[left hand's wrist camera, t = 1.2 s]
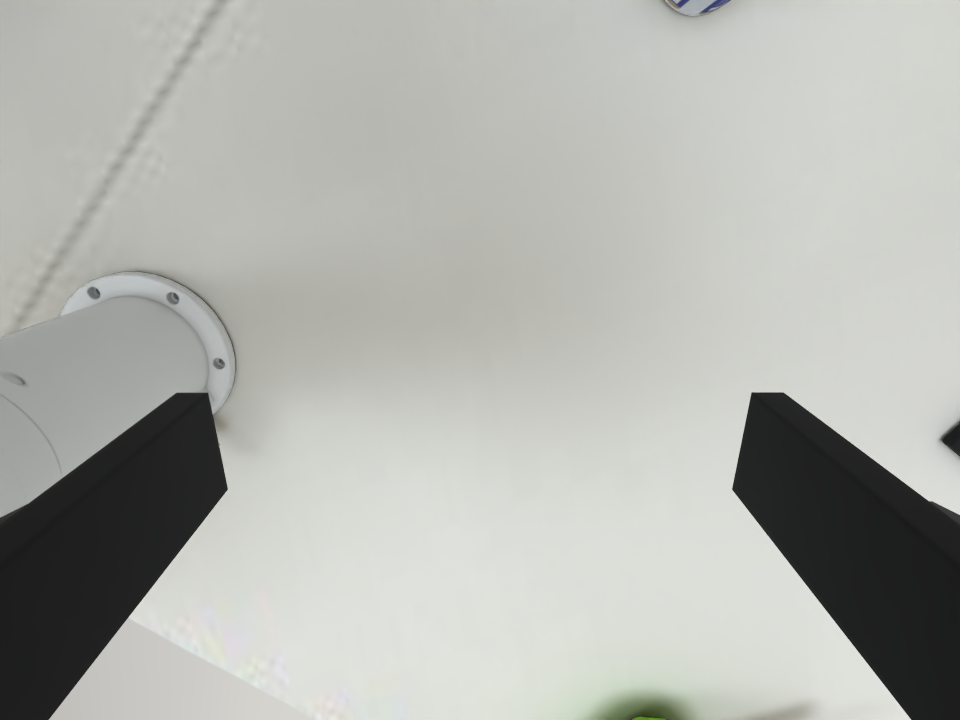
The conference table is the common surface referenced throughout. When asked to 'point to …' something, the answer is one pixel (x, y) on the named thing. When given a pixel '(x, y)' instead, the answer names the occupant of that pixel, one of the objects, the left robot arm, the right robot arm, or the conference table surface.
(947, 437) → the black angular piece
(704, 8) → the pill bottle
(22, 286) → the conference table surface
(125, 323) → the right robot arm
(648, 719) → the decorative tree
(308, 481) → the conference table surface
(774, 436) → the left robot arm
